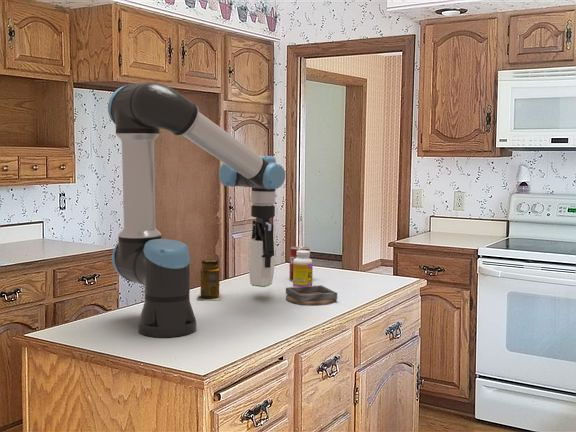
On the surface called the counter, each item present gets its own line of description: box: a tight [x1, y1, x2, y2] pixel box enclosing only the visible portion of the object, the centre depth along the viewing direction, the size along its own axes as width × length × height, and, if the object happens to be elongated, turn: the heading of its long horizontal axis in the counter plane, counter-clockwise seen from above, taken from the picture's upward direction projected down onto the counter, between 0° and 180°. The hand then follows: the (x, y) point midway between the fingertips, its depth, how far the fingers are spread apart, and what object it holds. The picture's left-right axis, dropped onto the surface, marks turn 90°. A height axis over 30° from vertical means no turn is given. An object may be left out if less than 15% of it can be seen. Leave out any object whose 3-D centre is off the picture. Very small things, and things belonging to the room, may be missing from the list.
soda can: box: [288, 245, 311, 282], centre depth 247 cm, size 7×7×12 cm
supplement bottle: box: [292, 250, 314, 287], centre depth 233 cm, size 7×7×13 cm
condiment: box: [196, 258, 222, 301], centre depth 218 cm, size 7×8×12 cm
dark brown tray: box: [285, 284, 338, 306], centre depth 217 cm, size 16×16×3 cm
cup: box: [248, 238, 277, 288], centre depth 217 cm, size 7×7×15 cm
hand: (261, 274), depth 217 cm, fingers closed on cup, 9 cm apart
